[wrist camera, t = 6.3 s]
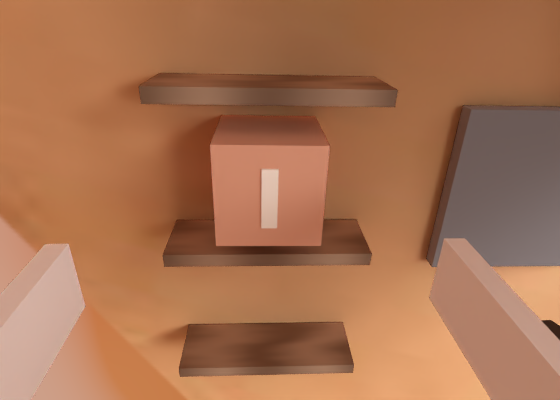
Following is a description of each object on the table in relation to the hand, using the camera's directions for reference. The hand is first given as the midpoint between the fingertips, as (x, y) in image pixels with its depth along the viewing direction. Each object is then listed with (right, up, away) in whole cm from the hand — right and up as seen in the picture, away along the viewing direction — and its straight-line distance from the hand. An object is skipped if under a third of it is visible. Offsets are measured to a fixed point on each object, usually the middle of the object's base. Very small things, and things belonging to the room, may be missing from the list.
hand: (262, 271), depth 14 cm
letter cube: (0, +5, +10) cm, 11 cm away
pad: (+17, +3, +11) cm, 21 cm away
